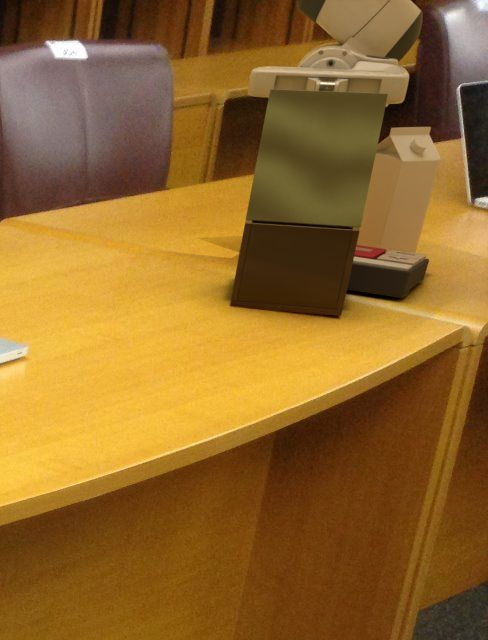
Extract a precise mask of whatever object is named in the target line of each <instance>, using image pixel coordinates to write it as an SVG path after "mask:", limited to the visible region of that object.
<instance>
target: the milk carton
mask: <svg viewBox="0 0 488 640" xmlns="http://www.w3.org/2000/svg"><path fill="white" fill-rule="evenodd" d="M431 129H432V127H431V126H413V127H411V126H407V127H405V126H404V127H390V132H389V135H388V136H387V137H386V138H384V139H383V140H381V141H380V142H378V145H377V150H376V155H375V160H374V165H373V170H372V174H371V179H370V184H369V189H368V194H367V199H366V204H365V209H364V213H363V218H362V223H361V227H360V228H359V231H360V232H359V236H358V241H357V245H360V246H367V247H374V248H381V249H386V253H387V252H389V251H390V250H395V251H402V252H409V253H416V252H417V249H418V245H419V241H420V238H421V234H422V230H423V227H424V223H425V219H426V216H427V212H428V208H429V206H430V202H431V197H432V195H433V190H434V187H435V184H436V179H437V176H438V172H439V169H440V165H441V161H442V157H441V156H440V154H439V151H438V148H436V146H435V145H436V144H434V142H433V139H432V137H431V135H430V133H431ZM416 254H417V253H416Z"/></svg>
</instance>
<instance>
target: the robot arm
mask: <svg viewBox="0 0 488 640" xmlns="http://www.w3.org/2000/svg"><path fill="white" fill-rule="evenodd" d="M296 7H297V11H299V13H301V14H302V15H303V16H305V18H308V19H309V20H310V21H311V22H313V23H314V24H317V25H318V26H320V28H322V29H323V30H324V31H325V32H326V33H327V34H328V35H329V36H330V37H332V38H333V39H334V41H336V42H326V43H322V44H320V45H317V46H316V47H314V48H312V49H310V50H309V51H307V53H306V54H304V56H303V58H302V59H301V60H300V61H299V63H298V65H297V66H279V65H278V66H277V65H273V66H272V65H269V66H267V65H266V66H259V67H255V68H253V69H252V70H251V72H250V75H249V77H248V78H247V79H248V86H247V95H248V96H249V97H253V98H254V97H255V98H269V94H270V89H278V90H305V91H333V92H361V93H388V97H387V101H386V106H385V108H387V107H388V106H389V105H394V104H398V105H399V104H402V103H403V102H404V101H405V98H406V95H407V90H408V86H409V81H410V73H409V72H408V71H407V69H406V68H405V67H403V66H401V65H399V62H401V61H402V60H403V58H404V57H405V56H406V55H407V54H408V52H409V51H410V50H411V49H412V48H413V46H414V45H415V43H416V41H417V40H418V39H419V37H420V34H421V30H422V25H423V24H422V23H423V20H424V19H423V17H424V16H423V10H422V9H420V8H419V7H418V6H417V4H415V3H414V2H413V1H412V0H296Z"/></svg>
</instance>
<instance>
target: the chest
mask: <svg viewBox="0 0 488 640" xmlns="http://www.w3.org/2000/svg"><path fill="white" fill-rule="evenodd" d="M359 232H360V231H359V228H357V227H342V226H327V225H311V224H296V223H281V222H266V221H250V220H246V219H245V223H244V227H243V232H242V237H241V243H240V247H239V253H238V258H237V263H236V270H235V275H234V280H233V284H232V285H233V286H232V290H231V297H230V302H229V307H234V308H244V309H252V310H253V309H255V310H267V311H277V312H278V311H279V312H290V313H299V314H300V313H302V314H313V315H314V314H315V315H325V316H335V317H341V316H342V314H343V309H344V304H345V301H346V296H347V291H348V290H347V287H348V282H349V278H350V273H351V269H352V264H353V259H354V255H355V250H356V246H357V241H358V236H359Z"/></svg>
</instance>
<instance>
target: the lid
mask: <svg viewBox="0 0 488 640" xmlns="http://www.w3.org/2000/svg"><path fill="white" fill-rule="evenodd" d="M387 97H388V93H361V92H333V91H305V90H278V89H270V94H269V97H268V98H267V99H268V100H267V105H266V110H265V116H264V121H263V126H262V130H261V135H260V142H259V147H258V151H257V152H258V153H257V157H256V162H255V168H254V172H253V178H252V185H251V188H250V195H249V200H248V205H247V209H246V216H245V221H246V220H250V221H266V222H281V223H296V224H311V225H327V226H342V227H357V228H360V227H361V223H362V218H363V213H364V209H365V204H366V199H367V194H368V189H369V184H370V179H371V174H372V170H373V165H374V160H375V155H376V150H377V145H378V144H379V140H380V135H381V130H382V125H383V121H384V116H385V112H386V111H385V110H386V107H385V106H386V101H387Z"/></svg>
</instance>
